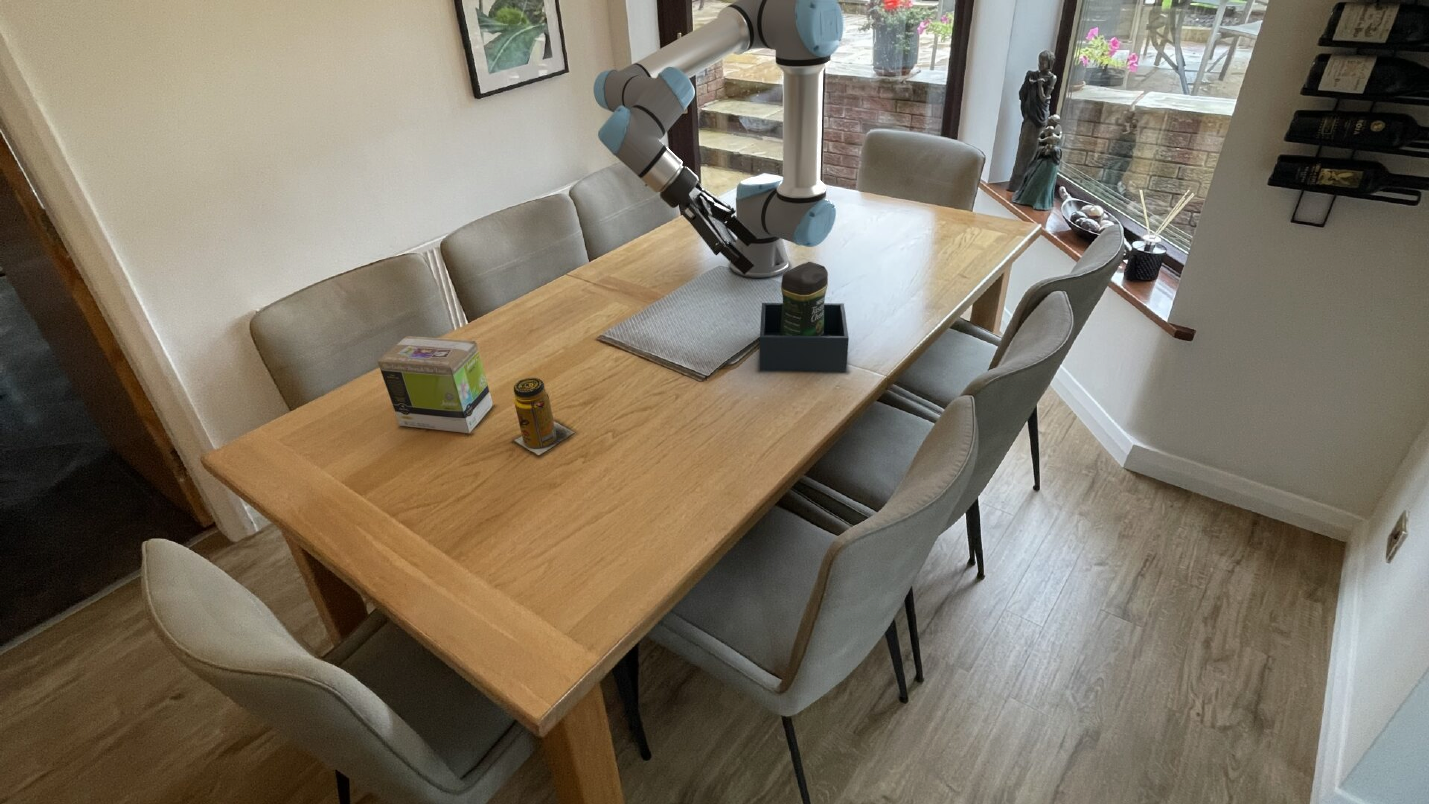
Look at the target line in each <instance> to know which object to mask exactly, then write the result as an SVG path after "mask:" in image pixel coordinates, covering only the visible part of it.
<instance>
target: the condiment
mask: <svg viewBox="0 0 1429 804" xmlns="http://www.w3.org/2000/svg"><path fill="white" fill-rule="evenodd" d="M513 393H514V401H513V403H514V408H515V412H516V415H517V420H518V425H519V429H520V433H521V436H519V437H518V438H516V439H514V440H513V442H515V443H517V444H519V445H520V446H522V447H523V448H525V449H527V450H529V451H530V452H532V453H534V454H536V455H537V456H540V455H542V454H543V453H545V452H548V451H549V450H551V449H552V448H553V447H555V446H557V445H558V444H560V443H561V442H562V441H564V440H566V439H567V438H569V437H570V436H571V435H573V434H574V433H575V431H574V430H571V429H570V428H567V427H565V426H564V425H561V424H559V423H558V422H556V421H555V419H554V415H553V414H554V413H553V410H552V405H551V400H550V395H549V393H548V392H547V390H546V388H545V383H544V381H543V380H542V379H540V378H538V377H526V378H523V379H520V380H518V381H517V382H515V384H514V385H513Z"/></svg>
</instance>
